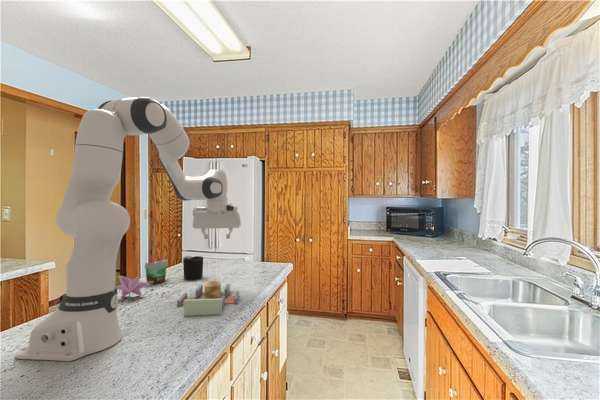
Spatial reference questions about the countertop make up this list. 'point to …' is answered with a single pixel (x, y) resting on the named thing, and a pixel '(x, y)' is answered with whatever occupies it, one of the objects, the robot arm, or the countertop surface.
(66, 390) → the countertop surface
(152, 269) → the food container
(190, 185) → the robot arm
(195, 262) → the pen holder
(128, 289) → the lily
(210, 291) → the honey block
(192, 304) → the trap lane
